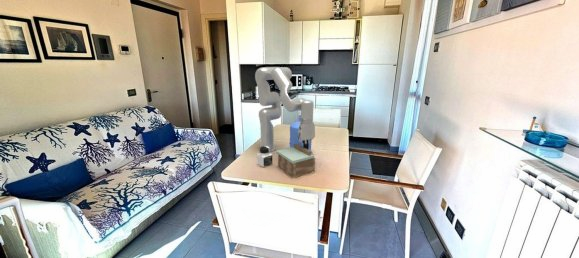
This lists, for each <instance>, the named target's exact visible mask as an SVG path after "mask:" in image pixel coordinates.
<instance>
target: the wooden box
mask: <svg viewBox="0 0 579 258" xmlns="http://www.w3.org/2000/svg"><path fill="white" fill-rule="evenodd" d="M277 155H278V156H277V159H278V160H277V166H278V167H279V168H280V169H281V170H283V171H284V172H286V174H288V175H289V176H290V177H292V178H294V179H295V178H297V177H301V176H305V175H308V174H311V173H314V172H315V168H316V167H315V165H316V164H315V163H316V157H314V158H312V159H308V160H304V161H300V162H297V163H291V162H290V161H288V160H287V159H285V158H284V157H282V156H281V155H279V154H277Z"/></svg>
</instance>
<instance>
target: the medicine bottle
mask: <svg viewBox="0 0 579 258" xmlns="http://www.w3.org/2000/svg"><path fill="white" fill-rule="evenodd" d="M259 147H260V146H259ZM256 161H257V162H256V163H257V165H258V166H260V167H261V168H267V167H269V166H272V165H273V154H272V153H271V152H269V147H267V146H262V147H260V150H259V153H257V155H256Z"/></svg>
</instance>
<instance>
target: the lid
mask: <svg viewBox="0 0 579 258" xmlns="http://www.w3.org/2000/svg"><path fill="white" fill-rule="evenodd" d="M312 153H313V151H312V150H311V151H310V150H308V149H306V148H304V147H302V146H300V145H298V144H294V147H291V148H290V147H287V148H282V149H279V150H276V154H277V155H278V154H279V155H281V156H282V157H284V158H285V159H287V160H288V161H290V162H291V163H297V162H300V161H304V160H308V159H312V158H315V155H314V154H312Z"/></svg>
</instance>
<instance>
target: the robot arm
mask: <svg viewBox="0 0 579 258" xmlns="http://www.w3.org/2000/svg"><path fill="white" fill-rule="evenodd" d="M292 77H293V73H292V70H291V69H290V67H287V66H286V67H285V66H284V67H283V66H281V67H280V66H265V67H259V68H258V69H256V71H255V74H254V78H255V82H256V86H257V91H258V93H257V94H258V102H259V105H260V106H261V107H263V108H262V109H259V111H258V118H259V124H260V125H259V126H260V146H259V147H258V151H260V147H262V146H267V147H269V153H272V152H274V151H277V150H276V149H277V148H276V146H275V143H274V141H275V139H274V138H275V137H274V136H275V133H274V132H275V131H274V124H273V123H272V121H275V120H277V119H278V120H279V119H280V118H281V116H282V105H283V107H284V108H285V110H286V111H288V112H289V113H294V112H299V111H300V115H301V118H300V120H299V119H298V121H299V122H300V124H299V130H298V138H299V142H303V147H304V148H306V149H309V143H310V141H311V140H314V138H315V137H316V126H315V121H314V101H313V100H311V99H305V98H303V97H299V98H290V95H289V94H288V92H289V91H290V90H291V89H292V87H293V83H292V81H291V78H292ZM269 80H271V81H272V80H273V81H274V83H275V84H276V85H277V87H278V88H279V90H280V93H278V92H277V91H271V88H270V87H271V86H270V83H269V82H268V81H269ZM269 106H270V107H269Z"/></svg>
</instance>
